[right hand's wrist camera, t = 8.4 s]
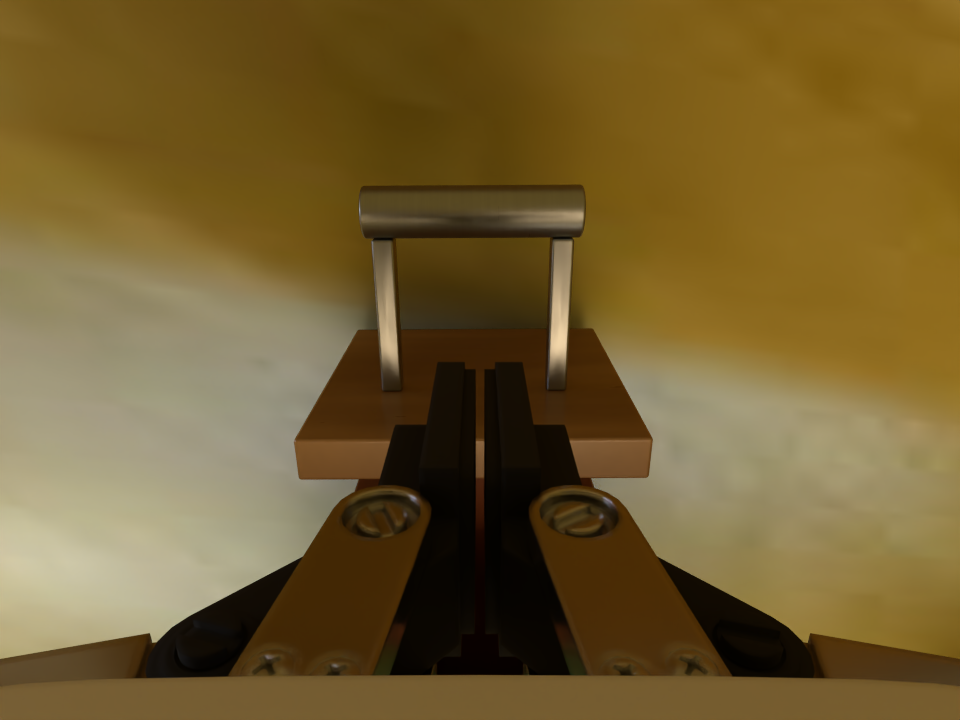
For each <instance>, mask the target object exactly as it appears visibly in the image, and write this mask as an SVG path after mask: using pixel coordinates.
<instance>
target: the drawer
mask: <svg viewBox="0 0 960 720" xmlns="http://www.w3.org/2000/svg"><path fill="white" fill-rule="evenodd" d="M585 213H586V200H585V191H584V188H583V186H582V185H444V186H363V187H362V188H361V190H360V195H359V219H360V226H361V231H362V234H363V236H364V237H365V238H374V239H373V240H372V242H371V243H372V257H373V271H374V285H375V299H376V313H377V327H378V330H358V331H357V333H356V334H355V336H354V338H353V339H352V341H351V343H350V345H349V346H348V348H347V350H346V352H345V353H344V355H343V357H342V359H341V360H340V362H339V364H338V365H337V367H336V369H335V371H334V372H333V374H332V376H331V378H330V379H329V381H328V383H327V384H326V386H325V388H324V390H323V391H322V393H321V395H320V397H319V398H318V400H317V402H316V404H315V405H314V407H313V409H312V410H311V412H310V414H309V416H308V417H307V419H306V421H305V423H304V424H303V426H302V428H301V429H300V431H299V433H298V435H297V436H296V438H295V440H294V445H295V452H296V460H297V467H298V475H299V478H300V479H359V480H358V483H357V486H356V489H355V492H356V491H359V490H362V489H364V488H368V487H374V486H378V483H379V480H380V476H381V473H382V469H383V465H384V462H385V458H386V455H387V451H388V448H389V444H390V440H391V437H392V433H393V430H394V427H395V425H426V424H427V418H428V413H429V407H430V401H431V396H432V390H433V384H434V379H435V373H436V367H437V362H465V369H476V545H475V634H462V637H461V657H443V658H442V659H441V660H440V661H438V662H437V675H523V662H522V661H520V660H519V659H518V658H517V657H499V637H498V634H485V545H484V369H495V362H523V367H524V373H525V379H526V384H527V390H528V396H529V401H530V407H531V413H532V418H533V424H534V425H565V427H566V430H567V433H568V437H569V440H570V444H571V448H572V451H573V455H574V458H575V462H576V465H577V469H578V473H579V476H580V480H581V483H582V486H586V487H592V488H594V486H593V483H592V480H591V478H646V477H648V476H649V468H650V460H651V451H652V442H653V439H652V437H651V435H650V433H649V431H648V429H647V427H646V426H645V424H644V422H643V420H642V418H641V416H640V415H639V413H638V411H637V409H636V407H635V405H634V403H633V402H632V400H631V398H630V396H629V394H628V392H627V391H626V389H625V387H624V385H623V383H622V381H621V380H620V378H619V376H618V374H617V372H616V370H615V368H614V367H613V365H612V363H611V361H610V359H609V357H608V356H607V354H606V352H605V350H604V348H603V346H602V345H601V343H600V341H599V339H598V337H597V335H596V333H595V332H594V330H593V329H570V310H571V290H572V271H573V251H574V240H573V238H572V237H581V235H582V233H583V230H584V224H585ZM538 237H550V255H549V282H548V310H547V329H416V330H401V324H400V307H399V289H398V271H397V253H396V239H395V238H538Z"/></svg>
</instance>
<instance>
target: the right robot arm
mask: <svg viewBox="0 0 960 720" xmlns="http://www.w3.org/2000/svg"><path fill="white" fill-rule="evenodd" d="M475 545H476V369H465V362H437V367H436V373H435V379H434V384H433V390H432V396H431V401H430V407H429V413H428V418H427V424H426V425H395V427H394V430H393V433H392V437H391V440H390V444H389V448H388V451H387V455H386V458H385V462H384V465H383V469H382V473H381V476H380V480H379V483H378V486H374V487H368V488H364V489H362V490H359V491H356V492H353V493H351V494H350V495H348V496H347V497H345V498H343V499H342V500H341V501H340V502H339V503H338V504H337V505H336V506H335V507H334V508H333V510H332V512H331V513H330V515H329V516H328V518H327V520H326V521H325V523H324V524H323V526H322V527H321V529H320V531H319V532H318V534H317V535H316V537H315V539H314V540H313V542H312V543H311V545H310V546H309V548H308V550H307V551H306V553H305V554H304V556H303V557H301V558H299V559H298V560H296V561H294V562H292V563H290V564H288V565H286V566H284V567H282V568H280V569H278V570H277V571H275V572H273V573H271V574H269V575H267V576H265V577H263V578H261V579H259V580H258V581H256V582H254V583H252V584H250V585H248V586H246V587H244V588H242V589H240V590H238V591H237V592H235V593H233V594H231V595H229V596H227V597H225V598H223V599H221V600H219V601H217V602H216V603H214V604H212V605H210V606H208V607H206V608H204V609H202V610H200V611H198V612H197V613H195V614H193V615H191V616H189V617H187V618H186V619H184V620H183V621H181V622H180V623H178V624H177V625H175V626H173V627H172V628H171V629H170V630H169V631H168V632H167V633H166V634H165V635H164V636H163V637H162V638H161V639H160V640H159V641H158V642H156V643H152V640H151V636H150V633H148V634H143V635H137V636H131V637H125V638H119V639H114V640H108V641H102V642H96V643H91V644H85V645H79V646H73V647H67V648H62V649H56V650H50V651H44V652H39V653H33V654H27V655H21V656H15V657H10V658H4V659H0V720H960V659H956V658H950V657H945V656H939V655H933V654H927V653H921V652H916V651H910V650H904V649H898V648H893V647H887V646H881V645H875V644H869V643H864V642H858V641H852V640H846V639H841V638H835V637H829V636H823V635H817V634H812V633H810V636H809V640H808V643H804V642H802V641H801V640H800V639H799V638H798V637H797V636H796V635H795V634H794V633H793V632H792V631H791V630H790V629H789V628H788V627H787V626H785V625H783V624H782V623H780V622H779V621H777V620H776V619H774V618H773V617H771V616H769V615H767V614H765V613H763V612H762V611H760V610H758V609H756V608H754V607H752V606H750V605H748V604H746V603H744V602H742V601H741V600H739V599H737V598H735V597H733V596H731V595H729V594H727V593H725V592H723V591H722V590H720V589H718V588H716V587H714V586H712V585H710V584H708V583H706V582H704V581H702V580H701V579H699V578H697V577H695V576H693V575H691V574H689V573H687V572H685V571H683V570H682V569H680V568H678V567H676V566H674V565H672V564H670V563H668V562H666V561H664V560H662V559H661V558H659V557H657V556H656V554H655V553H654V551H653V550H652V548H651V546H650V545H649V543H648V542H647V540H646V539H645V537H644V535H643V534H642V532H641V531H640V529H639V527H638V526H637V524H636V523H635V521H634V520H633V518H632V516H631V515H630V513H629V512H628V510H627V508H626V507H625V506H624V505H623V504H622V503H621V502H620V501H619V500H618V499H617V498H615V497H613V496H612V495H610V494H609V493H607V492H604V491H601V490H598V489H596V488H592V487H586V486H582V483H581V480H580V476H579V473H578V469H577V465H576V462H575V458H574V455H573V451H572V448H571V444H570V440H569V437H568V433H567V430H566V427H565V425H534V424H533V418H532V413H531V407H530V401H529V396H528V390H527V384H526V379H525V373H524V367H523V362H495V369H484V545H485V634H498V637H499V657H517V658H518V659H519V660H520V661H522V662H523V675H437V662H438V661H440V660H441V659H442V658H443V657H461V637H462V634H475Z"/></svg>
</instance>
